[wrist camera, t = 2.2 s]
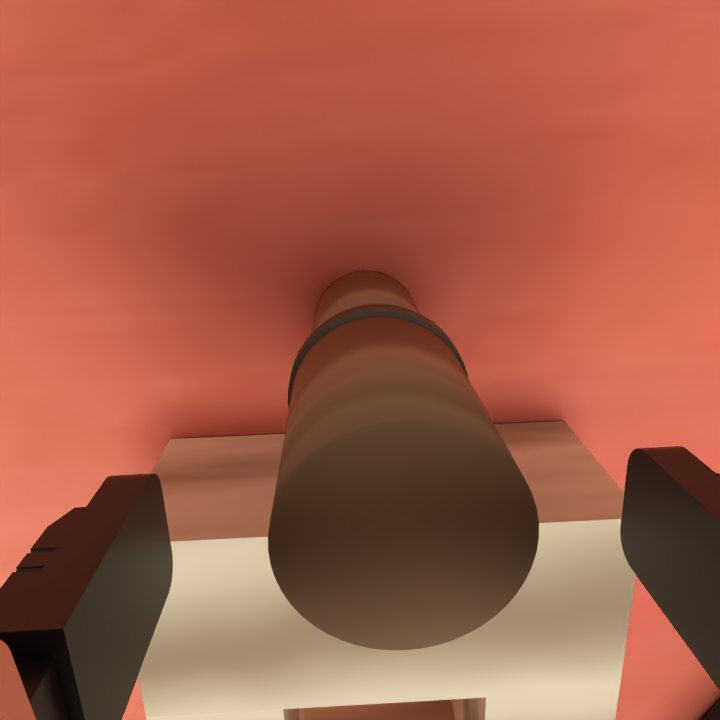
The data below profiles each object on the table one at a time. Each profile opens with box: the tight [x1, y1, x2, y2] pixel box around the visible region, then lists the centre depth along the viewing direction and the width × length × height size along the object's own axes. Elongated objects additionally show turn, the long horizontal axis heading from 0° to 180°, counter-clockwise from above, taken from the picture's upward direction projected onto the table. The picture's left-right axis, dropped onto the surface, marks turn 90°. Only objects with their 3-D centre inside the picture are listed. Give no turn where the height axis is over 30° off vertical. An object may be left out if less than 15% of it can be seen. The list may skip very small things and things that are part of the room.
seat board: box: [138, 421, 636, 720], centre depth 22 cm, size 18×14×6 cm
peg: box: [268, 271, 539, 650], centre depth 15 cm, size 4×4×12 cm
